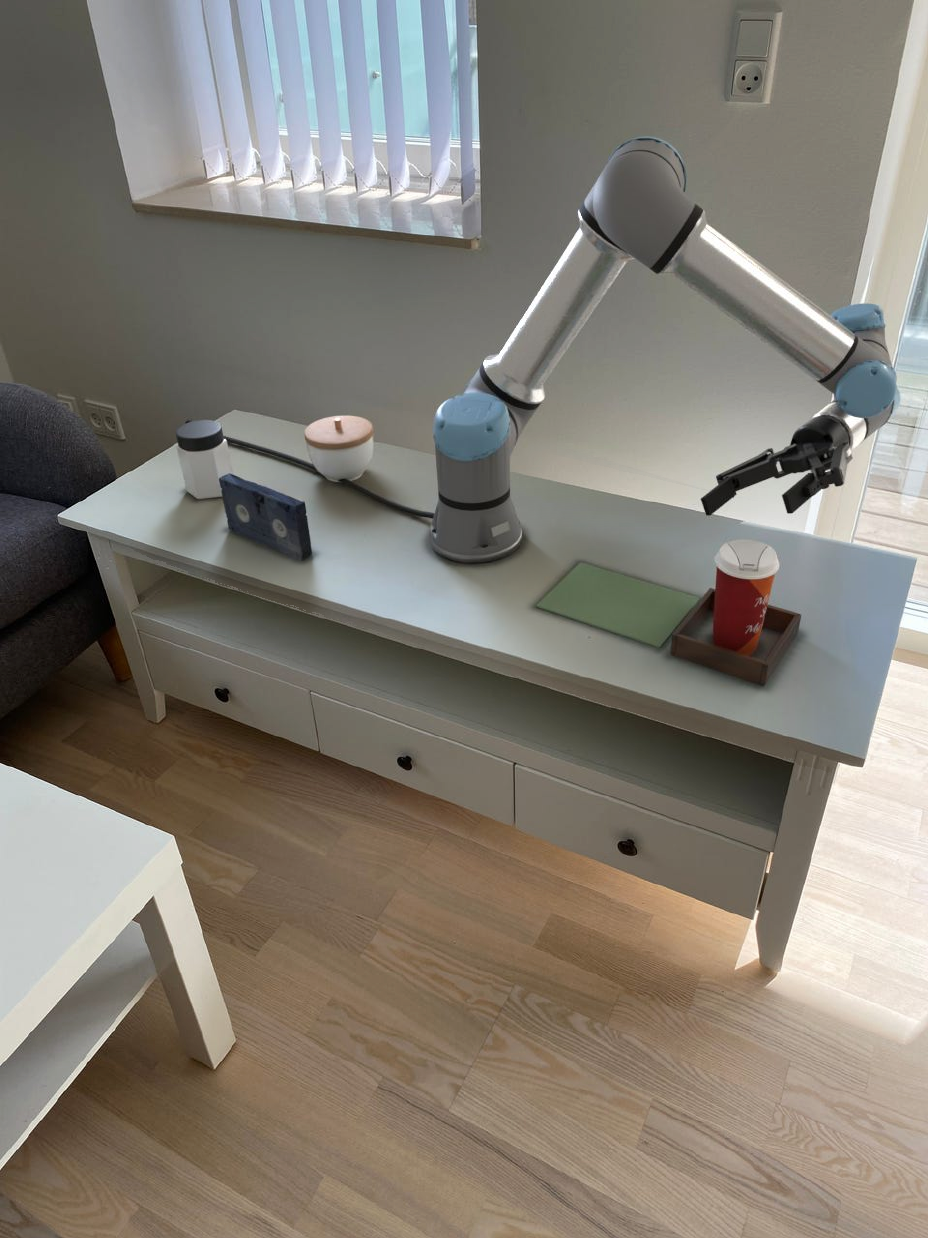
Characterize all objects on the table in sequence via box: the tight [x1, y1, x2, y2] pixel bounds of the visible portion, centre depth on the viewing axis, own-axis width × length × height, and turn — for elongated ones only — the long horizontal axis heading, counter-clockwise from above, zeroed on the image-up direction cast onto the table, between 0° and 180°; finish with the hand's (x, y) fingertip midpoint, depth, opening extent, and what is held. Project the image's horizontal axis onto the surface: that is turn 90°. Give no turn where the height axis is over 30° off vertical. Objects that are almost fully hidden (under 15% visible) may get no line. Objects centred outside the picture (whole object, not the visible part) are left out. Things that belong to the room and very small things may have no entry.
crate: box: [669, 587, 802, 687], centre depth 135 cm, size 13×13×4 cm
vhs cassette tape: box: [219, 473, 313, 561], centre depth 161 cm, size 18×3×10 cm, turn 51°
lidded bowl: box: [303, 415, 375, 483], centre depth 181 cm, size 13×13×11 cm
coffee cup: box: [712, 538, 780, 656], centre depth 132 cm, size 8×8×15 cm
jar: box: [175, 419, 234, 500], centre depth 178 cm, size 9×8×12 cm
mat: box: [535, 562, 700, 649], centre depth 145 cm, size 20×14×1 cm
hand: (744, 505), depth 133 cm, fingers open, 13 cm apart
